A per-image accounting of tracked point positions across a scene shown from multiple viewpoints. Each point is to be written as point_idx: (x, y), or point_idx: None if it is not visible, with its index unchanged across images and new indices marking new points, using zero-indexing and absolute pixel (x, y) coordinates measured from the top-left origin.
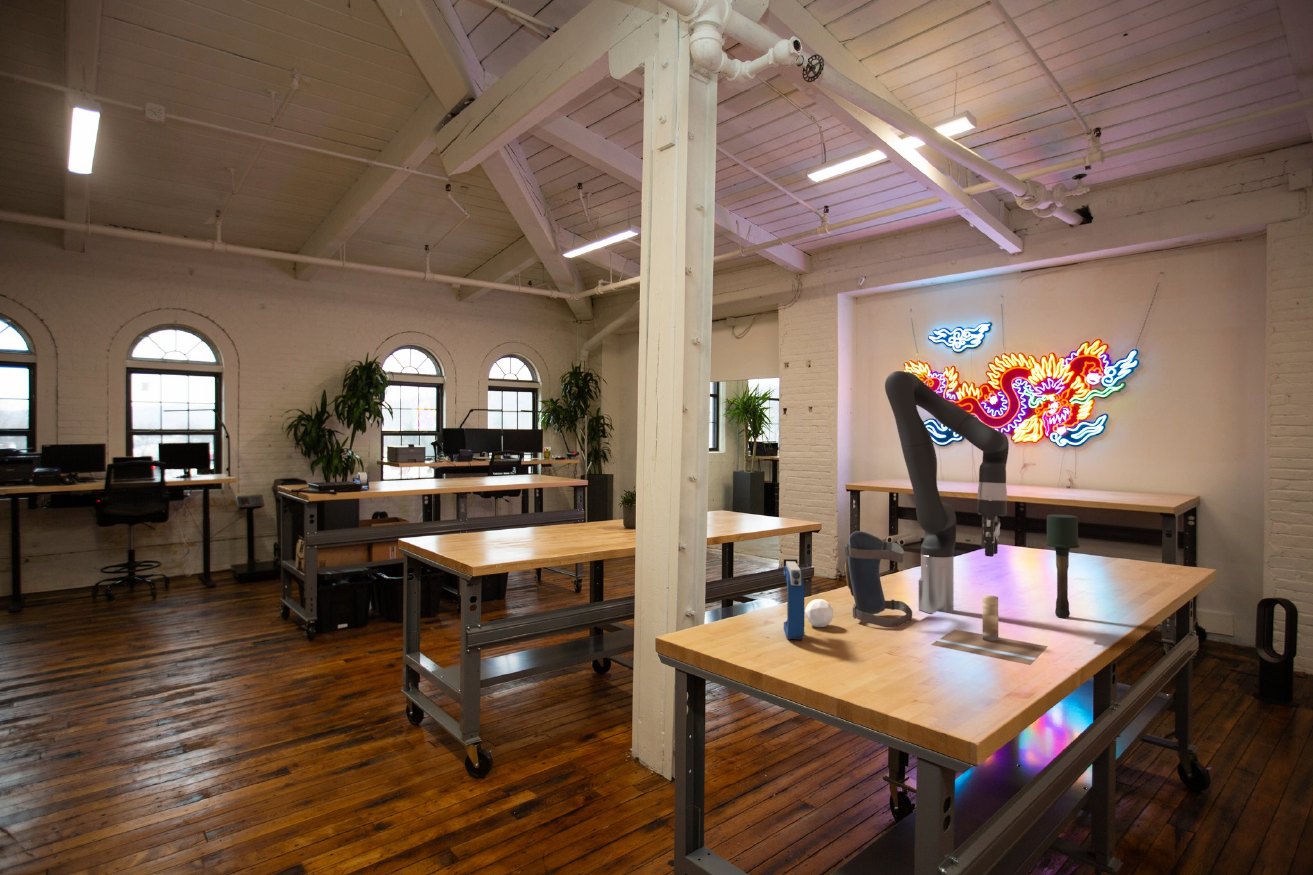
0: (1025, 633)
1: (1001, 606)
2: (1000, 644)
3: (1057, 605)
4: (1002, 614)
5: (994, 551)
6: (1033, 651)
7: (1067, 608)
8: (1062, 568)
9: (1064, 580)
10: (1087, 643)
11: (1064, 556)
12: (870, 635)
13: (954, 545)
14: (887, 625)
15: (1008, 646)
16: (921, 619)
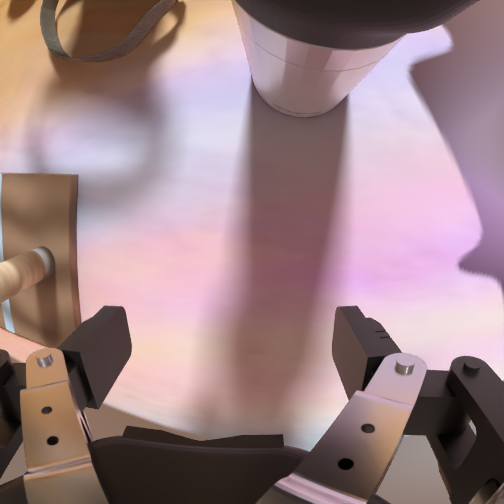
0: (191, 318)
1: (460, 238)
2: None
3: None
4: (372, 250)
5: (338, 346)
6: (37, 332)
7: None
8: (439, 463)
9: (428, 440)
10: (194, 414)
11: (449, 495)
12: (12, 54)
13: (380, 25)
14: (56, 44)
15: (32, 294)
16: (172, 61)
